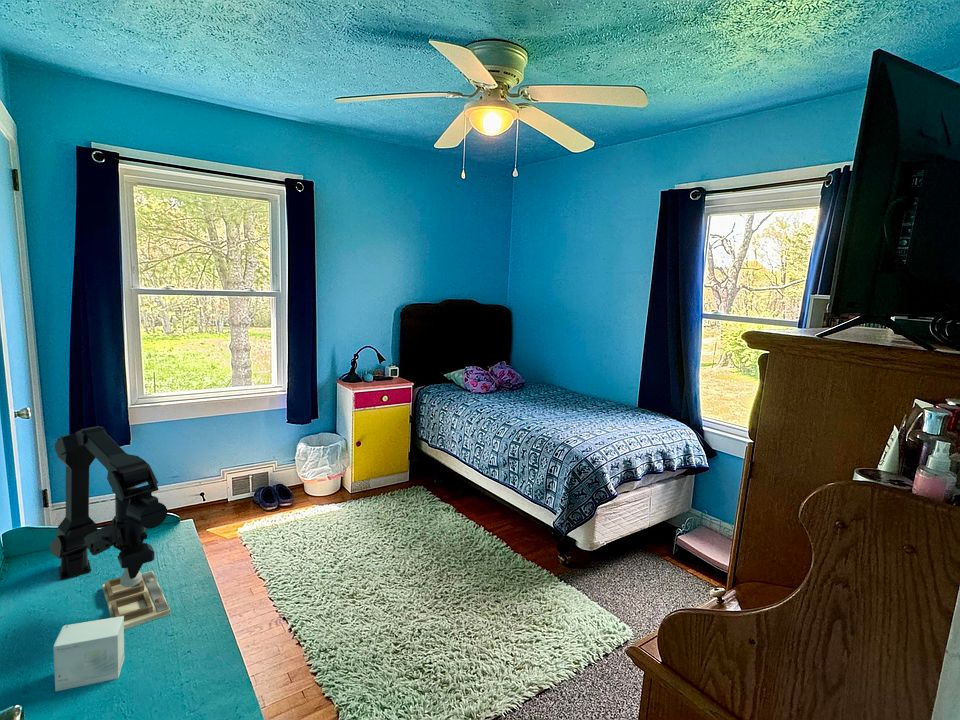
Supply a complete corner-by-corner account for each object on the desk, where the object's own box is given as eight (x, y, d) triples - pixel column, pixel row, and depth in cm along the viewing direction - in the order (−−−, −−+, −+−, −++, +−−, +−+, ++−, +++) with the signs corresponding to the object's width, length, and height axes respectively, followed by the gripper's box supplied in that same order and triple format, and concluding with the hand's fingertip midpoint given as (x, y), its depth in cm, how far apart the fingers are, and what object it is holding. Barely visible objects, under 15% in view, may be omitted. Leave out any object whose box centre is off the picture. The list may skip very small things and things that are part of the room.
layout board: (102, 588, 128) (102, 579, 128) (152, 574, 136) (152, 565, 136) (115, 632, 114) (115, 622, 114) (170, 614, 122) (170, 604, 122)
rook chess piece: (130, 589, 117) (130, 558, 115) (114, 585, 118) (114, 554, 116) (147, 578, 121) (146, 548, 120) (131, 574, 122) (131, 545, 121)
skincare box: (54, 693, 98) (52, 646, 96) (64, 669, 103) (62, 624, 102) (118, 679, 102) (117, 634, 101) (125, 657, 108) (124, 614, 106)
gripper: (82, 506, 117) (83, 566, 120) (92, 541, 104) (94, 608, 107) (138, 495, 125) (138, 552, 128) (154, 526, 112) (155, 589, 115)
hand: (131, 574), depth 119 cm, fingers closed on rook chess piece, 3 cm apart
